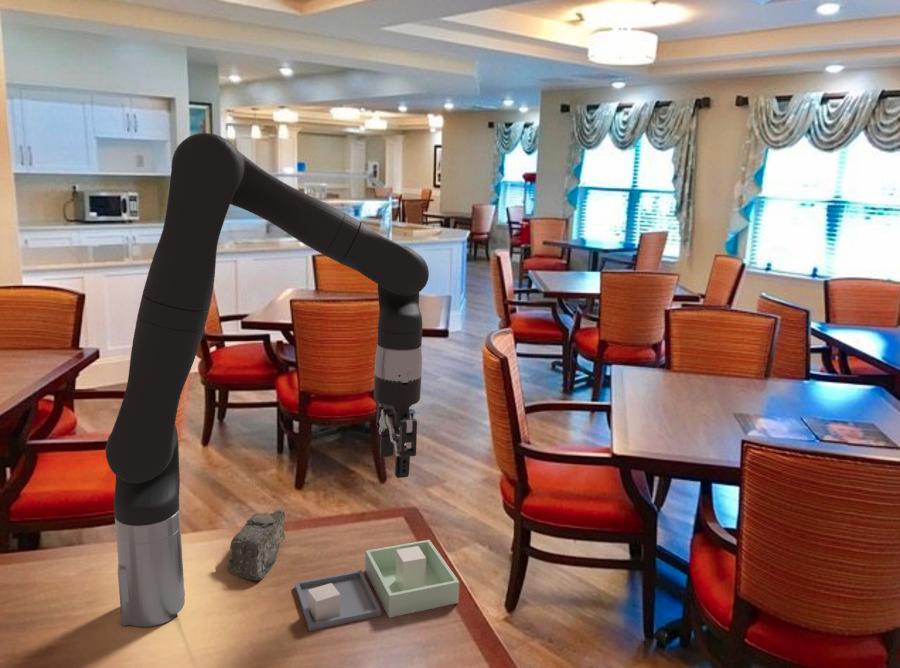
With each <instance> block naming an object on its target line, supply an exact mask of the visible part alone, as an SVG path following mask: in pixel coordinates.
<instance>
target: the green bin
mask: <svg viewBox="0 0 900 668" xmlns="http://www.w3.org/2000/svg"><path fill="white" fill-rule="evenodd" d="M415 546H419V548H420V549H421V551H422V553H423V554H424V556H425V557H426V572H425V587H420V588H415V589H410V590H405V591H401V590H400V589H399V587H398V585H397V583H396V581H395V575H396V550H397V549H403V548H409V547H415ZM364 557H365V560H364V561H365V562H364V564H365V568H364V569H365V574H366V575H367V577H368V579H369V581H370V583H371V585H372V587H373V589H374V591H375V593H376V595H377V597H378V599H379V600H380V603H381V605H382V607H383V609H384V611H385V613H386V614H387V617H388V618H389V619H390V618H394V617H401V616H405V615H409V614H413V613H418V612H423V611H426V610H427V611H429V610H432V609H436V608H442V607H445V606H447V607H448V606H451V605H456V604H460V603H459V599H460V598H459V597H460V581H459V579H458V578H457V576H456V575H455V574H454V572H453V571H452V569H451V568H450V567H449V565H448V564H447V562H446V561H445V559H444V558H443V556H442V555H441V554H440V552H439V551H438V550H437V548H436V547H435V545H434V544H433V542H432V541H431V539H425V540H419V541H415V542H409V543H402V544H397V545H392V546H385V547H379V548H375V549H368V550H365V556H364Z"/></svg>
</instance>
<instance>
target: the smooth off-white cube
mask: <svg viewBox="0 0 900 668" xmlns="http://www.w3.org/2000/svg"><path fill="white" fill-rule="evenodd" d="M308 611H309V614H310V616H311V617H312V619H313V620H314V621H315V622H316V621H321V620H325V619H330V618H335V617H340V593H339V592H338V591H337V589H336V588H335V587H334V586H333V584H332V583H329V584H326V585H323V586H319V587H316V588H313V589H309V590H308Z"/></svg>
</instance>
